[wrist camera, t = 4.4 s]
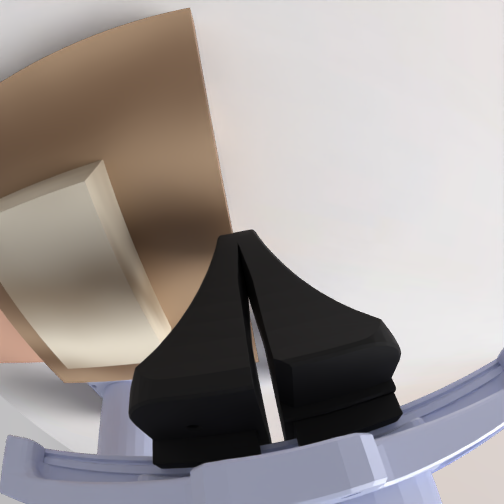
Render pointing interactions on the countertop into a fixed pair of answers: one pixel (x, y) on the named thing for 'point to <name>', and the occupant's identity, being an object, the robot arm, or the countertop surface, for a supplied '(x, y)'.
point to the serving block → (124, 154)
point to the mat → (14, 345)
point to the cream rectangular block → (79, 271)
